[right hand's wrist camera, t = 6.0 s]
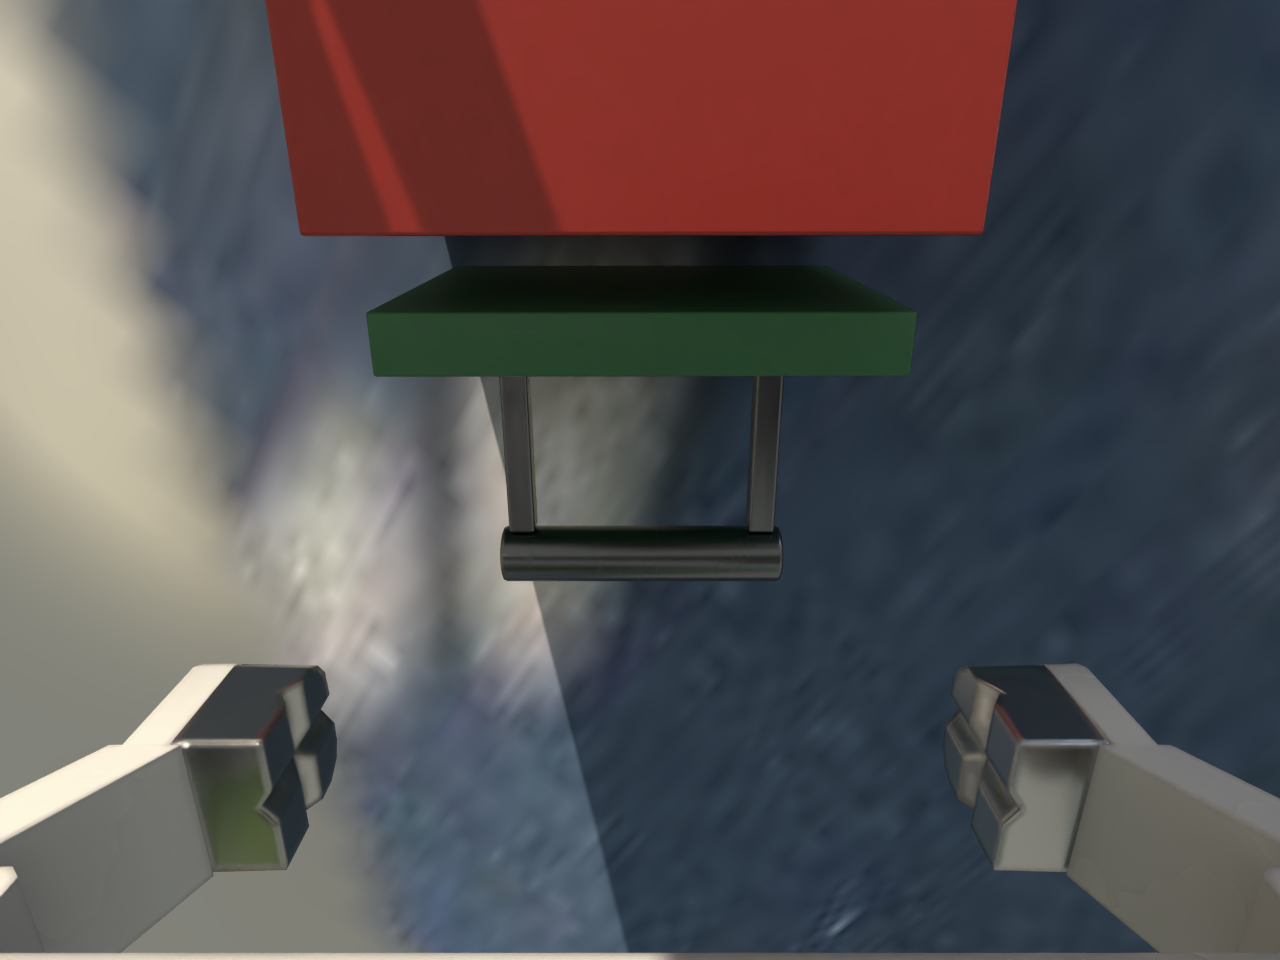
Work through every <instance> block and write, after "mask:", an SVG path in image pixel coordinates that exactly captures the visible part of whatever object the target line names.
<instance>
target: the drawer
mask: <svg viewBox="0 0 1280 960" xmlns="http://www.w3.org/2000/svg"><path fill="white" fill-rule="evenodd" d="M366 317H367V325H368V333H369V341H370V349H371V357H372V365H373V373H374V376H376V377H452V376H499V379H500V394H501V409H502V424H503V439H504V454H505V469H506V484H507V498H508V513H509V526H507V527H505V528H504V531H503V534H502V539H501V549H500V561H501V571H502V575H503V578H504V580H507V581H777V580H779V579H780V576H781V573H782V567H783V543H782V536H781V532H780V530H779V528H778V527H777V526H774V519H775V504H776V488H777V473H778V458H779V442H780V427H781V411H782V396H783V381H784V376H908V375H909V374H910V368H911V360H912V351H913V343H914V335H915V327H916V319H917V312H916V311H914V310H912V309H910V308H908V307H906V306H904V305H902V304H900V303H898V302H896V301H894V300H892V299H890V298H888V297H886V296H884V295H882V294H880V293H878V292H876V291H875V290H873V289H871V288H869V287H867V286H865V285H863V284H861V283H859V282H857V281H855V280H853V279H851V278H849V277H847V276H845V275H843V274H841V273H839V272H837V271H835V270H834V269H832V268H830V267H828V266H457V267H455V268H453V269H451V270H449V271H447V272H445V273H443V274H441V275H439V276H437V277H435V278H433V279H431V280H429V281H427V282H425V283H423V284H421V285H420V286H418V287H416V288H414V289H412V290H410V291H408V292H406V293H404V294H402V295H400V296H398V297H396V298H394V299H392V300H390V301H388V302H386V303H385V304H383V305H381V306H379V307H377V308H375V309H373V310H371V311H369V312H367V314H366ZM530 376H753V392H752V411H751V431H750V451H749V470H748V490H747V510H746V524H747V526H536V525H537V503H536V484H535V465H534V446H533V427H532V408H531V389H530Z"/></svg>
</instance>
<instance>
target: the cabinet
mask: <svg viewBox="0 0 1280 960" xmlns="http://www.w3.org/2000/svg"><path fill="white" fill-rule="evenodd" d="M265 1H266V8H267V15H268V21H269V28H270V35H271V42H272V48H273V55H274V62H275V68H276V75H277V82H278V89H279V95H280V102H281V109H282V115H283V122H284V129H285V135H286V142H287V149H288V156H289V162H290V169H291V176H292V182H293V189H294V196H295V202H296V209H297V216H298V223H299V229H300V233H301V235H304V236H751V235H980V234H982V233H983V230H984V224H985V217H986V210H987V203H988V197H989V190H990V183H991V176H992V170H993V163H994V156H995V149H996V142H997V136H998V129H999V122H1000V115H1001V109H1002V102H1003V95H1004V88H1005V82H1006V75H1007V68H1008V61H1009V54H1010V48H1011V41H1012V34H1013V27H1014V21H1015V14H1016V7H1017V0H265Z"/></svg>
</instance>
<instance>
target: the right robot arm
mask: <svg viewBox="0 0 1280 960" xmlns="http://www.w3.org/2000/svg"><path fill="white" fill-rule="evenodd" d="M328 696H329V690H328V685H327V680H326V675H325V672H324V671H323V670H322V669H321V668H320V667H319V666H312V665H264V664H242V665H239V664H203V665H199V666H196V667H193V668H192V669H191V670H190V672H189V673H188V674H187V675H186V676H185V677H184V678H183V679H182V680H181V681H180V682H179V683H178V685H177V686H176V687H175V688H174V689H173V690H172V691H171V692H170V693H169V694H168V695H167V697H166V698H165V699H164V700H163V701H162V702H161V703H160V704H159V705H158V706H157V707H156V709H155V710H154V711H153V712H152V713H151V714H150V715H149V716H148V717H147V718H146V719H145V721H144V722H143V723H142V724H141V725H140V726H139V727H138V728H137V729H136V730H135V732H134V733H133V734H132V735H131V736H130V737H129V738H128V739H127V740H126V741H125V742H124V744H123V745H108V746H106V747H104V748H102V749H100V750H98V751H96V752H94V753H92V754H90V755H88V756H86V757H84V758H82V759H80V760H78V761H76V762H74V763H72V764H70V765H67V766H66V767H63V768H61V769H59V770H57V771H55V772H53V773H51V774H49V775H47V776H45V777H43V778H41V779H39V780H37V781H35V782H33V783H31V784H29V785H27V786H25V787H23V788H21V789H19V790H16V791H14V792H12V793H10V794H8V795H6V796H4V797H2V798H0V960H1280V798H1278V797H1275V796H1273V795H1271V794H1269V793H1267V792H1265V791H1263V790H1261V789H1259V788H1257V787H1255V786H1253V785H1251V784H1249V783H1247V782H1245V781H1243V780H1241V779H1239V778H1237V777H1235V776H1233V775H1231V774H1229V773H1227V772H1225V771H1223V770H1221V769H1219V768H1217V767H1214V766H1212V765H1210V764H1208V763H1206V762H1204V761H1202V760H1200V759H1198V758H1196V757H1194V756H1192V755H1190V754H1188V753H1186V752H1184V751H1182V750H1180V749H1178V748H1176V747H1174V746H1172V745H1157V744H1156V742H1155V741H1154V740H1153V739H1152V738H1151V737H1150V736H1149V735H1148V734H1147V733H1146V732H1145V730H1144V729H1143V728H1142V727H1141V726H1140V725H1139V724H1138V723H1137V722H1136V721H1135V719H1134V718H1133V717H1132V716H1131V715H1130V714H1129V713H1128V712H1127V711H1126V710H1125V709H1124V707H1123V706H1122V705H1121V704H1120V703H1119V702H1118V701H1117V700H1116V699H1115V698H1114V697H1113V695H1112V694H1111V693H1110V692H1109V691H1108V690H1107V689H1106V688H1105V687H1104V686H1103V684H1102V683H1101V682H1100V681H1099V680H1098V679H1097V678H1096V677H1095V676H1094V675H1093V674H1092V672H1091V671H1090V670H1089V669H1088V668H1086V667H1084V666H1082V665H1080V664H1078V663H1072V664H1042V665H1030V666H972V667H959V668H958V670H957V672H956V674H955V676H954V678H953V683H952V689H951V696H952V697H953V699H954V701H955V703H956V704H957V706H958V708H959V710H958V711H957V712H956V713H955V714H954V715H953V716H952V717H951V718H950V719H949V720H948V721H947V722H946V725H945V732H944V740H943V752H944V763H945V769H946V773H947V776H948V779H949V783H950V785H951V787H952V789H953V791H954V793H955V795H956V797H957V799H958V800H960V801H961V802H963V803H964V804H966V805H967V806H968V807H970V808H971V809H973V810H974V812H973V818H972V824H971V827H972V829H973V831H974V833H975V835H976V837H977V839H978V841H979V843H980V844H981V846H982V848H983V850H984V852H985V854H986V856H987V858H988V860H989V862H990V864H991V866H992V868H993V870H1015V871H1050V872H1067V876H1068V877H1069V878H1070V879H1071V880H1073V881H1074V882H1075V883H1076V884H1077V885H1079V886H1080V887H1081V888H1082V889H1083V890H1085V891H1086V892H1087V893H1088V894H1089V895H1091V896H1092V897H1093V898H1094V899H1095V900H1097V901H1098V902H1099V903H1100V904H1101V905H1103V906H1104V907H1105V908H1106V909H1107V910H1109V911H1110V912H1111V913H1112V914H1113V915H1115V916H1116V917H1117V918H1118V919H1119V920H1121V921H1122V922H1123V923H1124V924H1125V925H1127V926H1128V927H1129V928H1130V929H1131V930H1133V931H1134V932H1135V933H1136V934H1137V935H1139V936H1140V937H1141V938H1142V939H1143V940H1145V941H1146V942H1147V943H1148V944H1149V945H1151V946H1152V947H1153V948H1154V949H1156V950H1157V951H1158V952H1159V953H121V952H122V951H123V950H125V949H126V948H127V947H128V946H130V945H131V944H132V943H133V942H134V941H136V940H137V939H138V938H139V937H140V936H142V935H143V934H144V933H145V932H146V931H148V930H149V929H150V928H151V927H152V926H154V925H155V924H156V923H157V922H158V921H160V920H161V919H162V918H163V917H164V916H166V915H167V914H168V913H169V912H170V911H172V910H173V909H174V908H175V907H176V906H178V905H179V904H180V903H181V902H183V901H184V900H185V899H186V898H187V897H189V896H190V895H191V894H192V893H193V892H195V891H196V890H197V889H198V888H199V887H201V886H202V885H203V884H204V883H205V882H207V881H208V880H209V879H210V878H211V877H213V872H229V871H264V870H287V868H288V866H289V864H290V862H291V860H292V858H293V856H294V854H295V852H296V850H297V848H298V846H299V845H300V843H301V841H302V839H303V837H304V835H305V833H306V831H307V829H308V827H309V824H308V818H307V812H306V810H307V809H309V808H310V807H312V806H313V805H314V804H316V803H317V802H319V801H320V800H322V799H323V797H324V795H325V793H326V791H327V789H328V787H329V785H330V783H331V781H332V776H333V772H334V767H335V763H336V758H337V737H336V731H335V724H334V722H333V721H332V720H331V719H330V718H329V717H328V716H327V715H326V714H325V713H324V712H323V711H322V710H321V708H322V706H323V704H324V703H325V701H326V699H327V697H328Z"/></svg>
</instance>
